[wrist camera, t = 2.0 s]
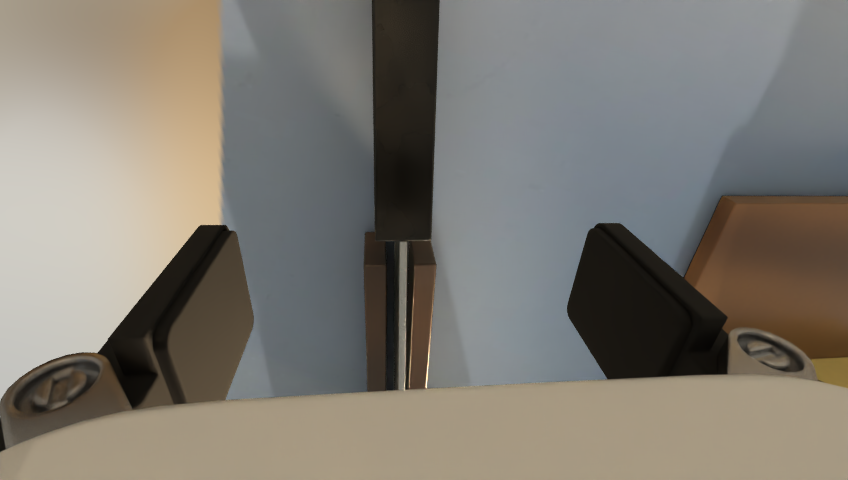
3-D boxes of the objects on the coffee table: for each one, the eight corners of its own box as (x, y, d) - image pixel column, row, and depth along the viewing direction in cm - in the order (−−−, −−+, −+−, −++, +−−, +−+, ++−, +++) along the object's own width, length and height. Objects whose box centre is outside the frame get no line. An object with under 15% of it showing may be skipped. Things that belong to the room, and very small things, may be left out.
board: (721, 195, 21) (736, 203, 20) (1003, 195, 23) (1027, 203, 22) (612, 431, 31) (619, 443, 30) (815, 416, 33) (827, 427, 33)
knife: (414, 438, 24) (422, 505, 20) (377, 440, 24) (378, 509, 20) (425, -22, 17) (441, -62, 13) (371, -26, 16) (370, -68, 12)
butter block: (772, 360, 27) (829, 412, 24) (886, 354, 28) (956, 403, 25) (742, 404, 30) (790, 457, 26) (848, 397, 31) (908, 447, 27)
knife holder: (364, 231, 20) (363, 265, 17) (428, 230, 20) (436, 264, 18) (370, 422, 28) (369, 465, 25) (416, 419, 28) (421, 461, 25)
